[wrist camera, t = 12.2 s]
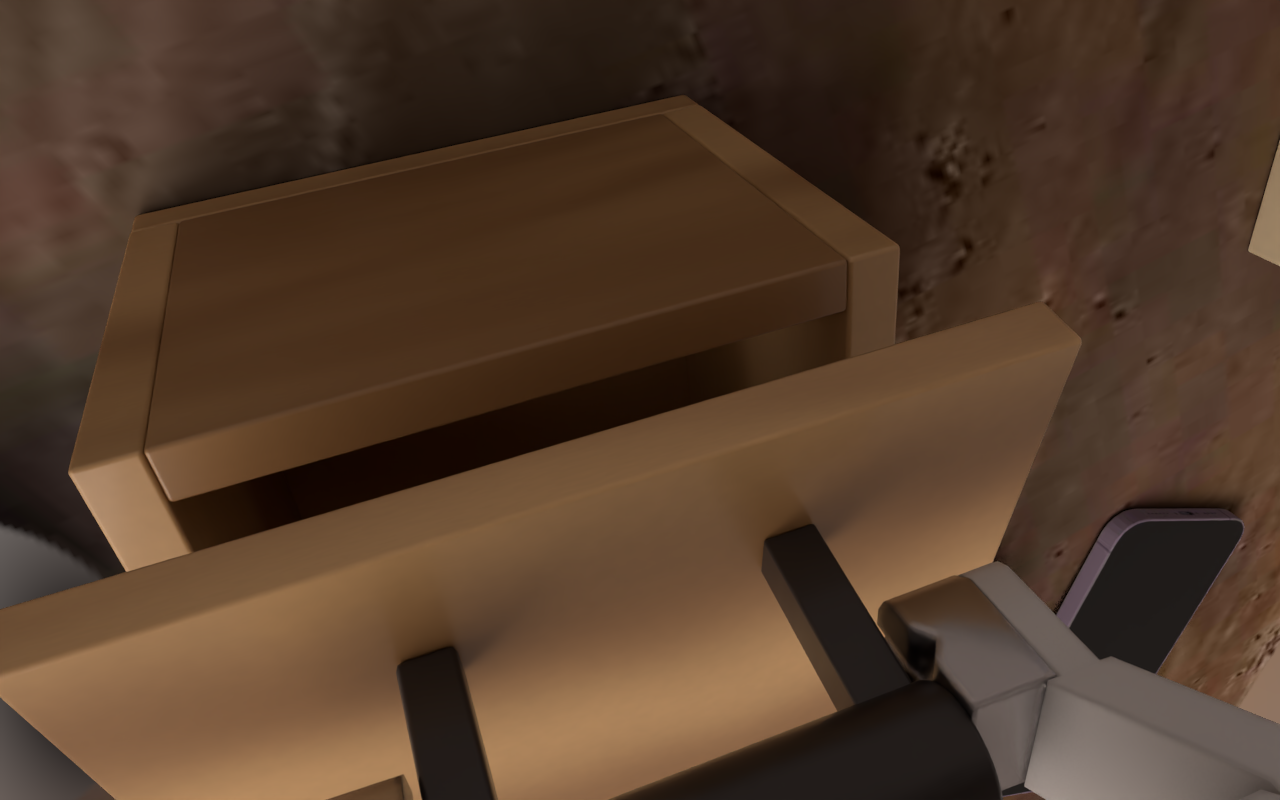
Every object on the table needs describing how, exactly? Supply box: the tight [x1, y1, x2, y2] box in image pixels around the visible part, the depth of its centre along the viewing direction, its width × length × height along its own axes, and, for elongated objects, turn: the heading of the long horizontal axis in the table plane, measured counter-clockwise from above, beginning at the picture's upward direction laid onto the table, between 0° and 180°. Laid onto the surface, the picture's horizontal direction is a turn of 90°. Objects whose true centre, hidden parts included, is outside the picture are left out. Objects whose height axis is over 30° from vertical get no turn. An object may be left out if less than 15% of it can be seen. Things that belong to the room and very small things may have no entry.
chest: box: [69, 95, 900, 572], centre depth 20 cm, size 14×12×9 cm
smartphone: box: [1002, 508, 1244, 797], centre depth 40 cm, size 7×1×15 cm
